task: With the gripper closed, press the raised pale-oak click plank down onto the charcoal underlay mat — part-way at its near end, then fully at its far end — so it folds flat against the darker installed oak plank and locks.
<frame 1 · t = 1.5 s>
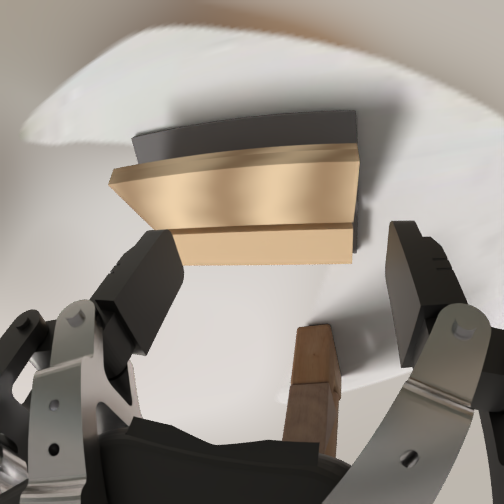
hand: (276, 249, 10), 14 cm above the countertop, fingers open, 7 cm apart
wooden block: (321, 353, 34), on the countertop
click plank: (234, 192, 21), point 3 cm above the countertop, hinge at 32.0°
floor section: (246, 191, 24), on the countertop
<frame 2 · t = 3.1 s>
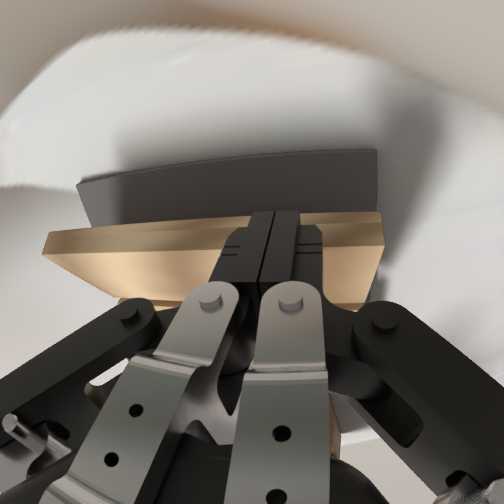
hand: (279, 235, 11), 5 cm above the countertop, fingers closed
wooden block: (319, 415, 28), on the countertop
click plank: (201, 269, 15), point 3 cm above the countertop, hinge at 30.3°, touching gripper
floor section: (223, 255, 18), on the countertop
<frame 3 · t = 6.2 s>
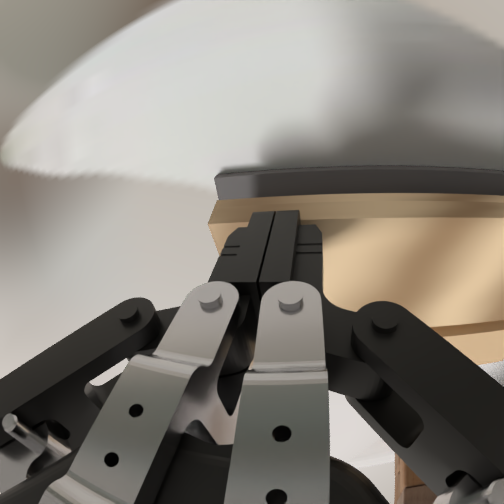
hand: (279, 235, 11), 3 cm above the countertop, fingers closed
wooden block: (414, 429, 24), on the countertop
click plank: (420, 271, 12), point 2 cm above the countertop, hinge at 11.2°, touching gripper
floor section: (406, 278, 14), on the countertop
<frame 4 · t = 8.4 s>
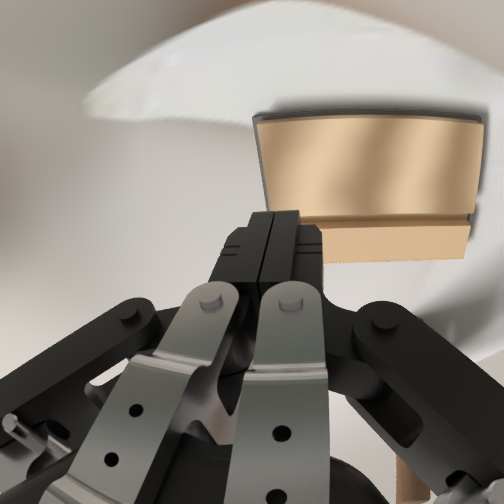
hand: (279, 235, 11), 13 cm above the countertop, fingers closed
wooden block: (405, 348, 32), on the countertop
click plank: (378, 165, 20), point 1 cm above the countertop, hinge at -0.5°, touching floor section
floor section: (375, 185, 22), on the countertop
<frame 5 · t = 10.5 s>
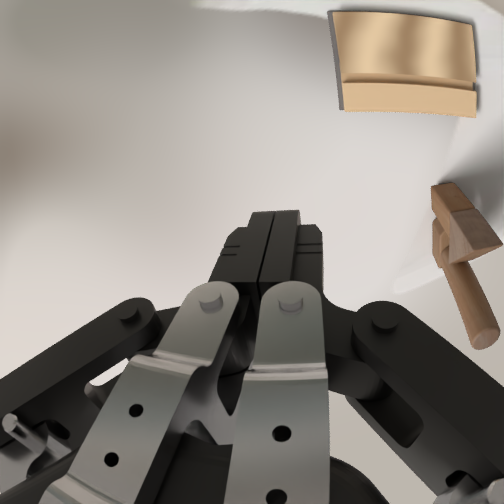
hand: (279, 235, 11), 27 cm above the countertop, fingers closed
wooden block: (442, 218, 36), on the countertop
click plank: (409, 44, 24), point 1 cm above the countertop, hinge at -0.5°, touching floor section
floor section: (408, 61, 26), on the countertop
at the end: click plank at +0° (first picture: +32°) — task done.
